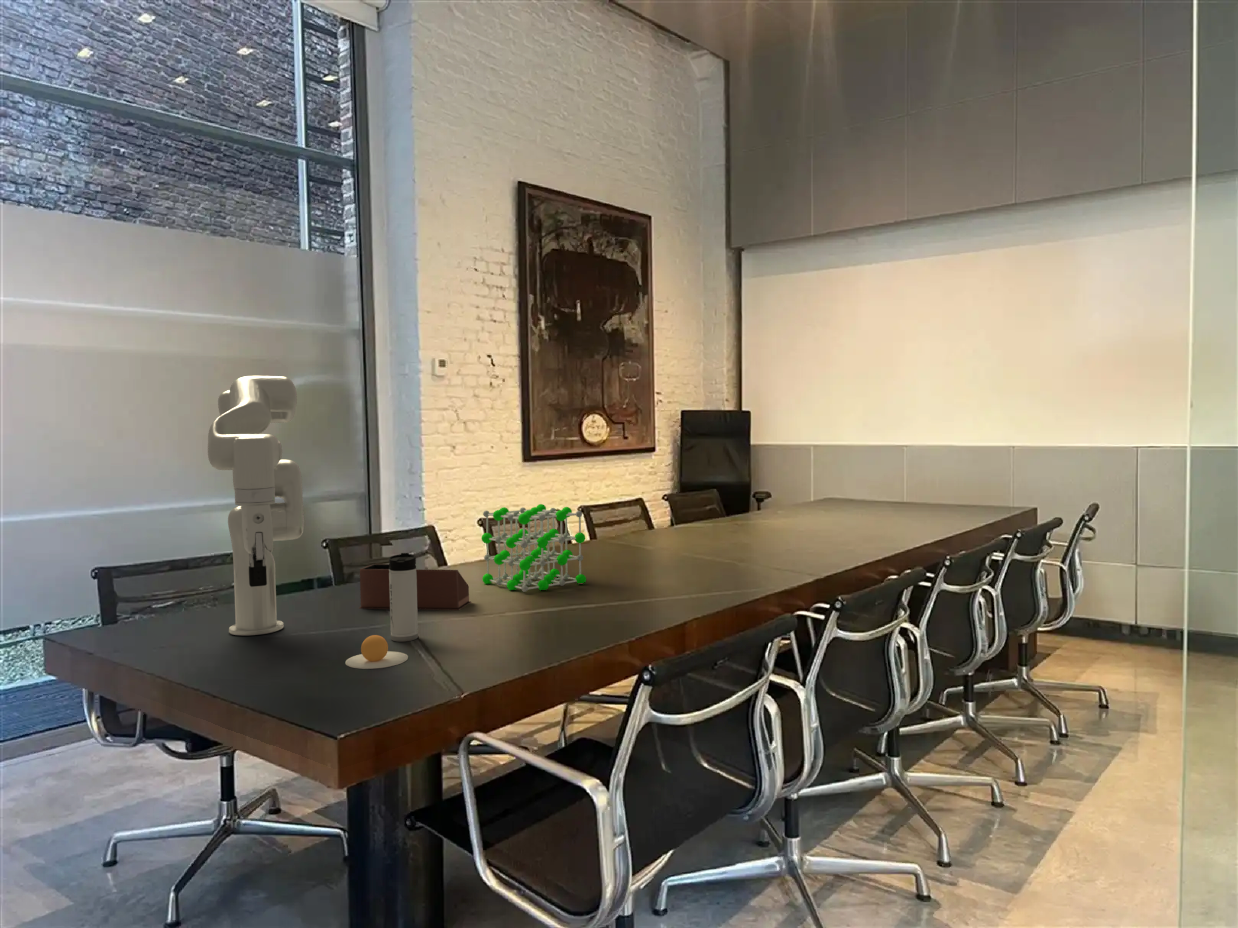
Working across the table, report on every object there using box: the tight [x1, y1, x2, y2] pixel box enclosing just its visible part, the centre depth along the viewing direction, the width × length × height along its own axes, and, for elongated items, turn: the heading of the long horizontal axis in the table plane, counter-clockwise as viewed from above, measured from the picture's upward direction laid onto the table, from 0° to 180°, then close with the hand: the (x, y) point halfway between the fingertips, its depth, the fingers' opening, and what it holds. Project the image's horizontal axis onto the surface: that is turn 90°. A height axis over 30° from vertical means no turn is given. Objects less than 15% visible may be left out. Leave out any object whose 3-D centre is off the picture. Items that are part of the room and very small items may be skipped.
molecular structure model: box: [480, 503, 587, 593], centre depth 271 cm, size 24×25×24 cm
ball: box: [360, 634, 389, 662], centre depth 184 cm, size 6×6×6 cm
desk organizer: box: [358, 563, 472, 611], centre depth 242 cm, size 10×29×11 cm, turn 82°
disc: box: [344, 650, 409, 670], centre depth 185 cm, size 13×13×1 cm
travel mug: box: [388, 552, 419, 643], centre depth 204 cm, size 6×7×20 cm
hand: (258, 585), depth 176 cm, fingers closed
